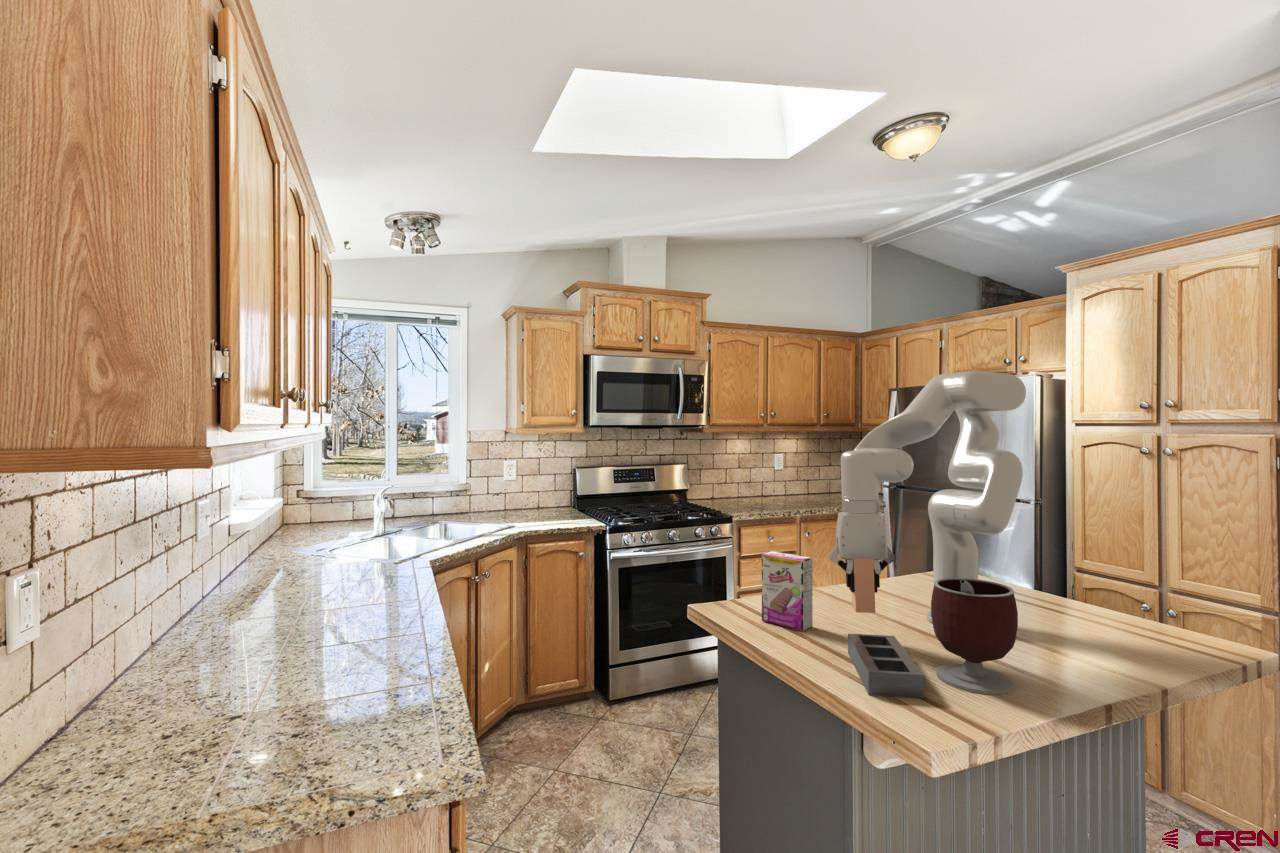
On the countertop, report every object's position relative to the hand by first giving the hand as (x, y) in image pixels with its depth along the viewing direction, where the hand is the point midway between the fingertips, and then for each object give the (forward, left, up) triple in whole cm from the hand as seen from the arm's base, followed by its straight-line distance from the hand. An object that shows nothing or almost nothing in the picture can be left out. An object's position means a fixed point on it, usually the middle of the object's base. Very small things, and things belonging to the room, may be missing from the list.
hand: (863, 589), depth 131 cm
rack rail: (0, +18, -11) cm, 21 cm away
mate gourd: (-15, +19, -11) cm, 27 cm away
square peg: (0, 0, -4) cm, 4 cm away
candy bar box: (+16, -9, -11) cm, 21 cm away
